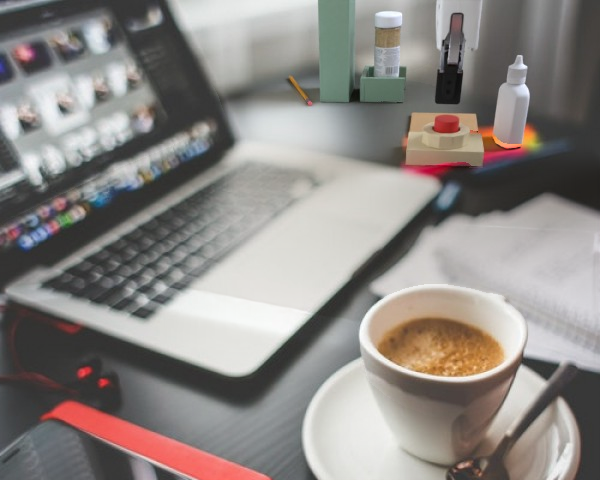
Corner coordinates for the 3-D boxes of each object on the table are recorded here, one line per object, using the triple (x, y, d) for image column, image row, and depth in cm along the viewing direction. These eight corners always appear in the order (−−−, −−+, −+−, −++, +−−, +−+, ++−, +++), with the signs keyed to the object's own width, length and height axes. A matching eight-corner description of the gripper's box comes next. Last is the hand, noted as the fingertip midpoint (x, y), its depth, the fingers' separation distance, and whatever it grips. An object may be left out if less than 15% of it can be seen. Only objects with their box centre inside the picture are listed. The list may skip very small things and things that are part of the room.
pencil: (312, 106, 108) (312, 101, 107) (308, 106, 107) (308, 101, 107) (290, 77, 123) (290, 73, 122) (287, 77, 123) (287, 73, 122)
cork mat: (475, 117, 99) (475, 113, 99) (478, 139, 91) (479, 135, 91) (411, 116, 101) (411, 112, 101) (408, 137, 93) (409, 133, 93)
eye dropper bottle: (524, 138, 91) (538, 51, 84) (520, 151, 87) (535, 61, 80) (493, 135, 92) (505, 50, 86) (488, 148, 88) (500, 60, 81)
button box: (479, 148, 88) (483, 120, 86) (482, 168, 83) (486, 138, 80) (407, 146, 90) (409, 119, 88) (405, 165, 84) (407, 136, 82)
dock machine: (405, 88, 114) (412, -30, 103) (403, 103, 106) (409, -21, 96) (327, 86, 116) (325, -28, 106) (319, 102, 109) (316, -20, 98)
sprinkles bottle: (396, 90, 113) (400, 9, 105) (400, 98, 109) (404, 14, 101) (370, 92, 113) (372, 11, 105) (374, 99, 109) (376, 16, 101)
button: (457, 127, 85) (459, 114, 84) (458, 135, 83) (459, 122, 82) (433, 126, 86) (435, 114, 85) (433, 135, 83) (434, 122, 82)
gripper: (502, -52, 65) (479, 122, 76) (493, -65, 77) (474, 86, 88) (429, -51, 66) (416, 120, 77) (431, -64, 78) (419, 85, 89)
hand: (447, 102), depth 82 cm, fingers closed
